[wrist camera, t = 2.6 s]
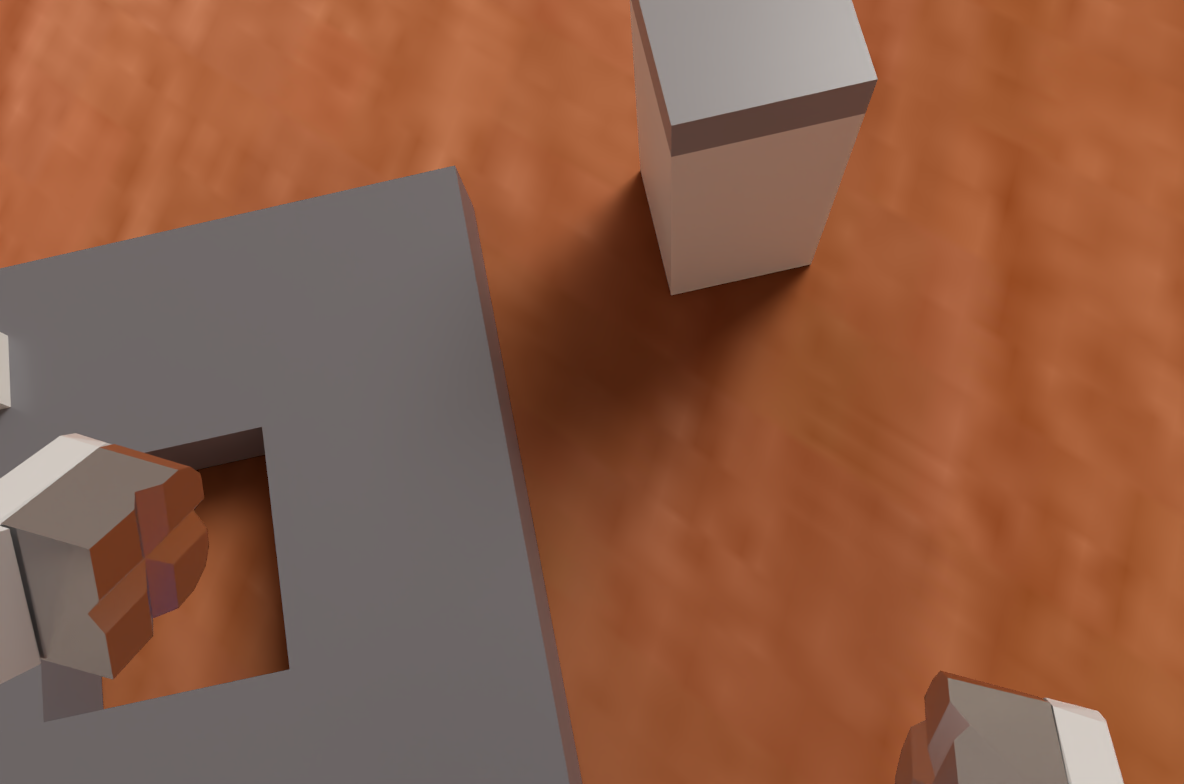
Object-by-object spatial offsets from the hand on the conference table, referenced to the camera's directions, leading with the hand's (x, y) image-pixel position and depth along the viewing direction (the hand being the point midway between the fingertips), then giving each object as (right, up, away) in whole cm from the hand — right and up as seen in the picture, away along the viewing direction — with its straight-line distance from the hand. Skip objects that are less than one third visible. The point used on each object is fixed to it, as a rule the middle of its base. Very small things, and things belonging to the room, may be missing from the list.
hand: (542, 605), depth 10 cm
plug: (+4, +7, +17) cm, 19 cm away
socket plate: (-10, -3, +16) cm, 19 cm away
